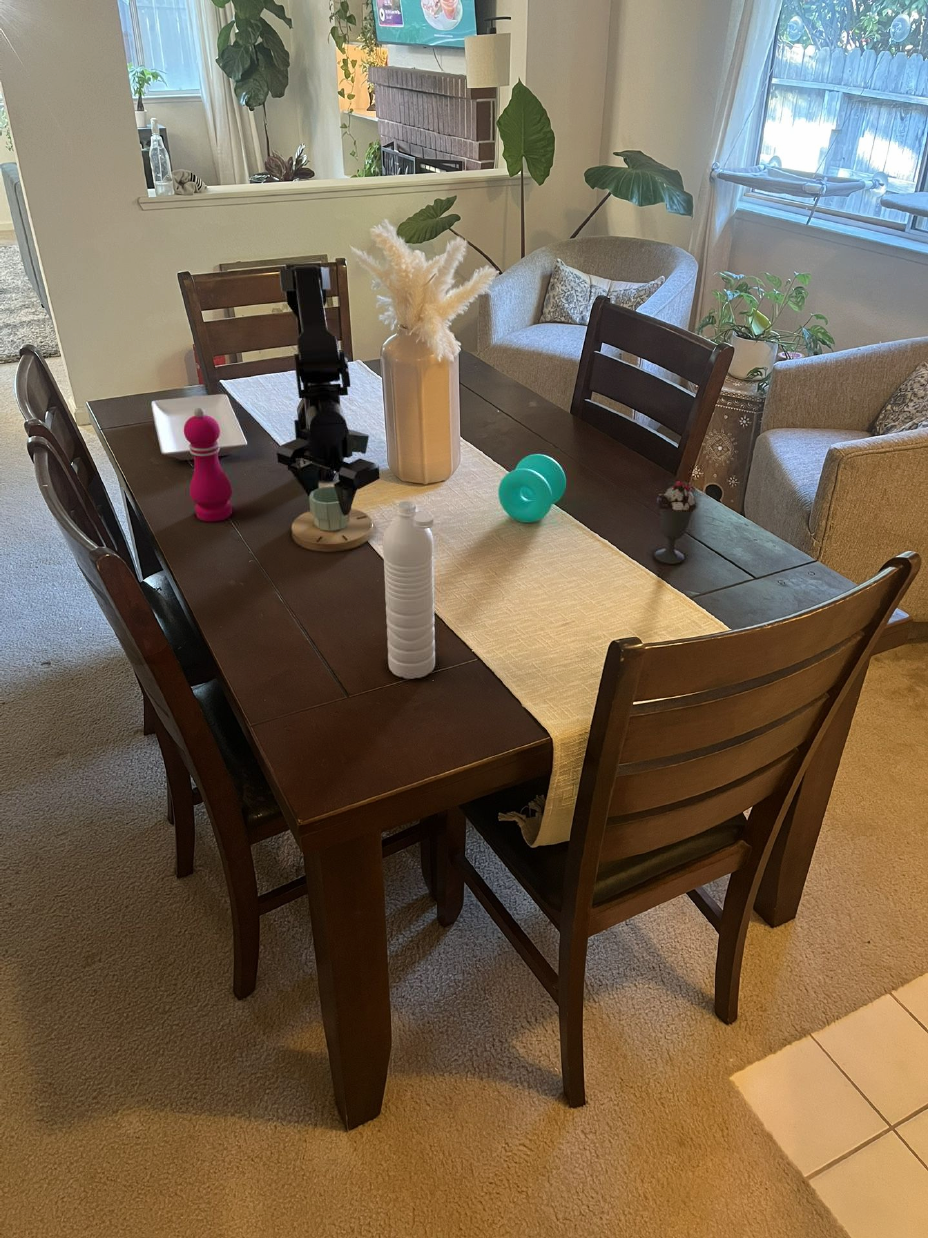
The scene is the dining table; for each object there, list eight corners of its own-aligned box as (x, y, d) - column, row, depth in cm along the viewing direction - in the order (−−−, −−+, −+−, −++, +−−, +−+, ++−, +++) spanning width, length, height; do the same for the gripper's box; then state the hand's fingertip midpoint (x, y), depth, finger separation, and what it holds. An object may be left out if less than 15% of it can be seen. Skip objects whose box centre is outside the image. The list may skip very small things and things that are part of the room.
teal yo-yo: (494, 518, 165) (496, 467, 160) (516, 497, 173) (518, 447, 167) (546, 530, 162) (550, 478, 156) (566, 507, 169) (570, 457, 164)
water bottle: (380, 660, 129) (371, 499, 115) (421, 647, 131) (417, 488, 118) (409, 694, 122) (404, 527, 109) (451, 679, 125) (451, 515, 111)
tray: (228, 406, 211) (226, 391, 209) (249, 458, 187) (247, 442, 185) (152, 414, 206) (149, 399, 204) (164, 469, 182) (161, 453, 180)
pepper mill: (222, 525, 162) (207, 417, 151) (186, 520, 164) (168, 412, 153) (241, 508, 168) (228, 402, 157) (206, 503, 170) (190, 398, 159)
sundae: (691, 550, 156) (705, 469, 148) (686, 569, 150) (700, 485, 142) (652, 544, 158) (664, 463, 149) (646, 562, 152) (657, 479, 144)
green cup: (303, 525, 159) (300, 496, 156) (332, 510, 164) (329, 482, 160) (332, 536, 155) (329, 507, 152) (360, 521, 160) (358, 492, 157)
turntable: (304, 511, 167) (303, 503, 166) (380, 516, 166) (379, 508, 165) (282, 548, 155) (281, 540, 154) (363, 554, 154) (363, 545, 153)
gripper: (399, 421, 150) (402, 507, 159) (317, 396, 159) (324, 479, 168) (353, 442, 143) (359, 531, 151) (270, 415, 152) (280, 500, 160)
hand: (331, 508), depth 158 cm, fingers closed on green cup, 7 cm apart
